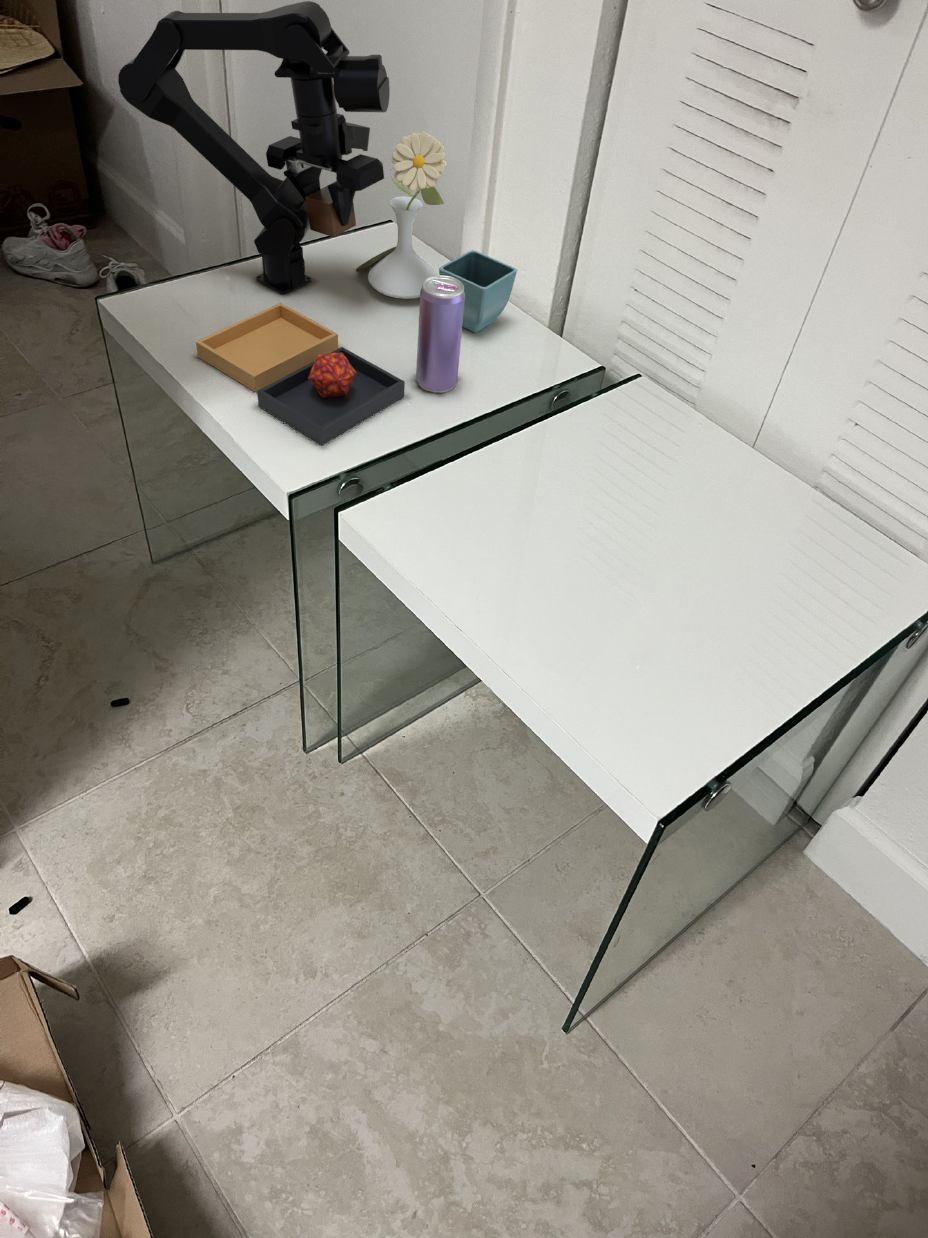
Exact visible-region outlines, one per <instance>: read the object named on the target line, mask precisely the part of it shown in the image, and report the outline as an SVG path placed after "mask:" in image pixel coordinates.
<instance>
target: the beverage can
mask: <svg viewBox="0 0 928 1238" xmlns="http://www.w3.org/2000/svg"><path fill="white" fill-rule="evenodd" d="M464 300H465V293H464V285H463V284H462V282H461V281H459V280H458V279H456V278H453V277H450V276H442V275H439V274H438V276H432V277H429V278H427V279H425V280H424V281H423V283H422V288H421V291H420V297H419V308H418V314H419V315H418V330H417V349H416V351H417V352H416V369H415V371H416V372H415V380H416V382H417V384H418V385H419V387H420V388H422V389H423V390H425V391H426V392H429V393H434V394H443V393H446V392H449V391H451V390H452V389H453V388H454V387H455V386H456V385H457V383H458V377H459V376H458V375H459V368H460V367H459V366H460V356H461V355H460V354H461V345H462V332H463V327H462V323H463V311H464Z"/></svg>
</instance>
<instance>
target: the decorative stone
mask: <svg viewBox="0 0 928 1238" xmlns="http://www.w3.org/2000/svg"><path fill="white" fill-rule="evenodd" d="M355 375H356V371H355V370H354V369H353V367H352V366H351V364H350V363H349V361H348V360H347V358H346V357H345V356H344V354H343V353H342V352H341V353H331V354H321V355H317V358H316V360H315V362H314V365H313V367H312V369H311V372H310V374H309V377H308V379H309V380H310V382H311V383H312V385H313V386H314V387H315V389H316V390H317V391H318V393H319V394H320V396H321V397H322V398H330V397H339V396H347V394H348V391H349V389H350V387H351V384H352V382H353V380H354V378H355Z"/></svg>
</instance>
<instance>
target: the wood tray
mask: <svg viewBox="0 0 928 1238" xmlns="http://www.w3.org/2000/svg"><path fill="white" fill-rule="evenodd" d="M195 346H196V354H197V357H198V359H201V360H202V361H204V362H205V363H207V364H209V365H210V366H212V367H213V368H216V369H217V370H218V371H220V372H222V373H223V374H225V375H227V376H228V377H230V378H232V379H233V380H235V381H237V382H238V383H240V384H242V385H243V386H245V387H246V388H248V389H250V390H252V391H253V392H255V393H257V391H258V390H260V389H262V388H264V387H266V386H268V385H270V384H271V383H273V382H275V381H277V380H279V379H281V378H283V377H285V376H287V375H289V374H291V373H293V372H295V371H296V370H298V369H300V368H302V367H304V366H306V365H308V364H310V363H312V362H314V361H315V360H316V358H317V355H321V354H329V353H331V352H333V351H335V350H337V349H339V334H338V333H337V332H335V331H334V330H332V329H330V328H328V327H325V326H324V325H322V324H320V323H319V322H316V321H315V320H313V319H312V318H310V317H308V316H306V315H304V314H303V313H300V312H298V311H297V310H295V309H293V308H292V307H290V306H288V305H286V304H284V303H282V302H279V303H277V304H275V305H272V306H270V307H267V308H265V309H263V310H262V311H258V312H257V313H255V314H253V315H251V316H248V317H246V318H243V319H242V320H239V321H237V322H235V323H233V324H231V325H229V326H227V327H224V328H222V329H220V330H217V331H215V332H214V333H212V334H209V335H206V336H204V337H203V338H200V339H198V340H196V341H195Z"/></svg>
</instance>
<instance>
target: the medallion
mask: <svg viewBox="0 0 928 1238" xmlns="http://www.w3.org/2000/svg"><path fill="white" fill-rule="evenodd" d="M396 247H397V245H396V246H393V247H391V248H389V249H387V250H385V251H382V252H380V253H378V254H377V255H375V256H373V257H371V258H370V259H368V260H366V261H364V262H363V263H361V264H360V265H359V266H358V267H356V268H355V272H356V273H360V272H363V271H367V270H369V269H371V268H372V266H373V265H374V264H376V263H377V262H378V261H379V260H380V259H382V258H384V257H385V256H387V255H389V254H390V253H392V252H393V251H394V250H395V249H396Z"/></svg>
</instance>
